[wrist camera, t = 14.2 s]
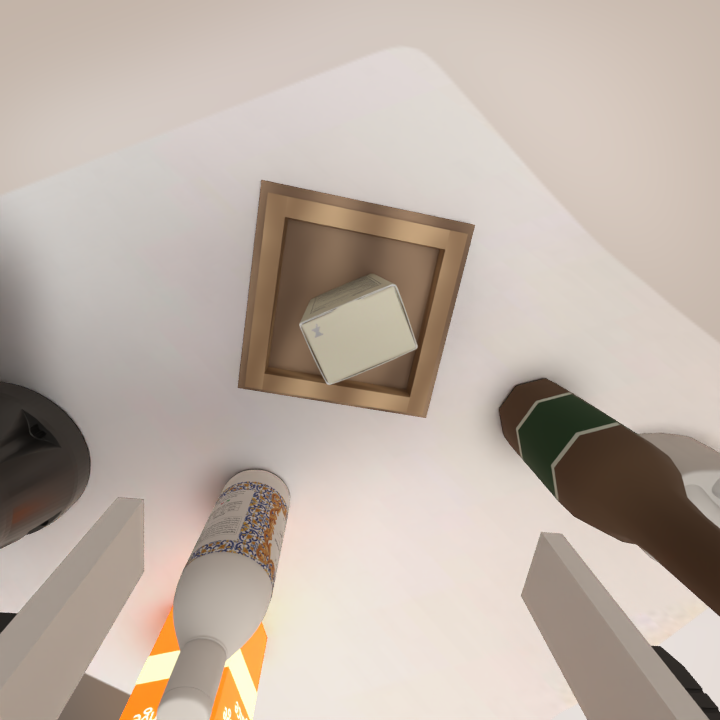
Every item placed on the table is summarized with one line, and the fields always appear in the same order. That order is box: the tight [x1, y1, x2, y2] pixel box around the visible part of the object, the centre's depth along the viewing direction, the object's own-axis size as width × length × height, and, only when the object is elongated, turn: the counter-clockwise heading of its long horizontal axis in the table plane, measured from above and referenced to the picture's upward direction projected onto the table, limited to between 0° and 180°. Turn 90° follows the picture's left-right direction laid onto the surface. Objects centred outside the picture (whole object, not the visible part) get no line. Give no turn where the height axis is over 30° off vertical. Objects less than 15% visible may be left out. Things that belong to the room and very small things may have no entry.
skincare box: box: [299, 273, 418, 385], centre depth 29 cm, size 6×4×12 cm
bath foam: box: [156, 470, 290, 720], centre depth 31 cm, size 7×7×20 cm
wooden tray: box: [238, 180, 475, 418], centre depth 34 cm, size 18×18×3 cm
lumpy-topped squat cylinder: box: [638, 433, 720, 562], centre depth 38 cm, size 10×13×9 cm
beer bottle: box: [499, 378, 720, 616], centre depth 28 cm, size 8×8×24 cm
